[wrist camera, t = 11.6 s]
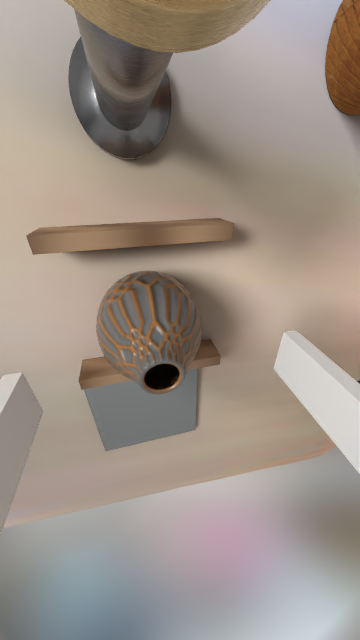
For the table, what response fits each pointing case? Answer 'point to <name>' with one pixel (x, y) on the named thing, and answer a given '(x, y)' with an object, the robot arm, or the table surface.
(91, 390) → the mat
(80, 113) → the post
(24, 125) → the table surface
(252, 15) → the latch
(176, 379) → the vase
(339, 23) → the disposable coffee cup
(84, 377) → the cradle
